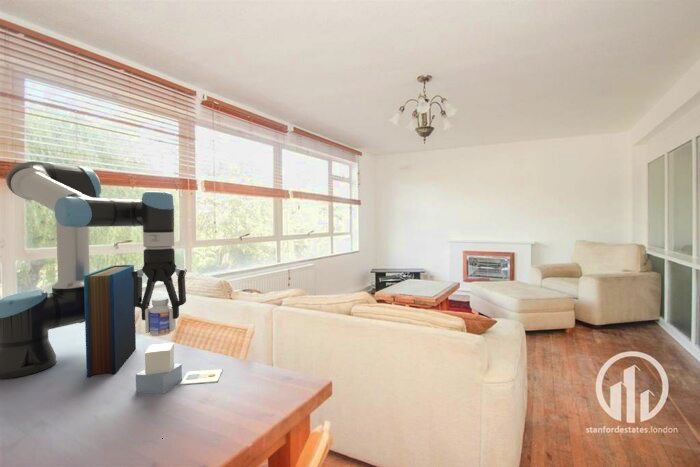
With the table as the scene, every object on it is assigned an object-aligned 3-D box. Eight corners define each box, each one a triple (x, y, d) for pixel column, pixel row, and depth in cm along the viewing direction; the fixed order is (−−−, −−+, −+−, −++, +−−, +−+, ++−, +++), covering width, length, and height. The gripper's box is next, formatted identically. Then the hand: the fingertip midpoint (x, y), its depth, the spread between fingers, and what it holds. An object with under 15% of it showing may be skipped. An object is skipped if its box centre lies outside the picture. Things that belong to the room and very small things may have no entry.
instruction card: (179, 384, 97) (179, 383, 97) (187, 372, 105) (187, 371, 105) (217, 382, 99) (217, 380, 99) (222, 370, 107) (222, 368, 106)
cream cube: (145, 374, 93) (144, 352, 92) (150, 365, 98) (150, 345, 98) (170, 371, 95) (169, 350, 94) (173, 363, 100) (173, 342, 100)
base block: (136, 392, 93) (135, 374, 93) (156, 379, 101) (156, 362, 101) (163, 394, 92) (162, 376, 92) (181, 381, 100) (181, 364, 100)
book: (110, 349, 124) (107, 265, 123) (138, 346, 127) (136, 264, 125) (80, 378, 101) (77, 275, 100) (115, 374, 104) (113, 274, 102)
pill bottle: (162, 337, 93) (161, 301, 93) (145, 336, 94) (144, 300, 94) (176, 331, 99) (175, 297, 98) (159, 329, 100) (159, 296, 99)
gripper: (115, 249, 90) (118, 337, 91) (190, 248, 94) (192, 333, 94) (128, 247, 98) (130, 328, 98) (198, 246, 101) (199, 325, 102)
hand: (160, 330), depth 96 cm, fingers closed on pill bottle, 5 cm apart
